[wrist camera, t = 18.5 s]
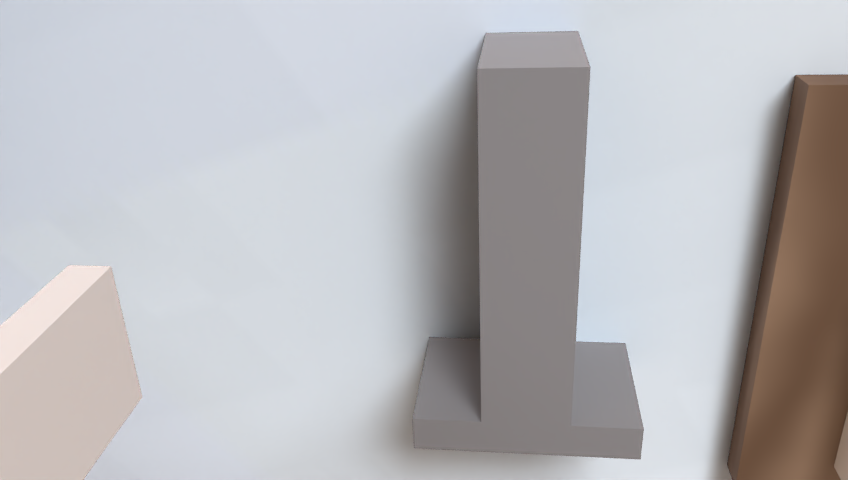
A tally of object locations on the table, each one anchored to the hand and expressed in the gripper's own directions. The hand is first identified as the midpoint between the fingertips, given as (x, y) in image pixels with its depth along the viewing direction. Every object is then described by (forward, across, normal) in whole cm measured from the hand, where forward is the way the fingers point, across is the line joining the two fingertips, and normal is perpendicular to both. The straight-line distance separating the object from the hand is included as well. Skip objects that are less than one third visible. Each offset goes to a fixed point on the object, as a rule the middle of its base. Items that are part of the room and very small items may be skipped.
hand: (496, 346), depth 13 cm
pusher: (+19, +1, -6) cm, 20 cm away
